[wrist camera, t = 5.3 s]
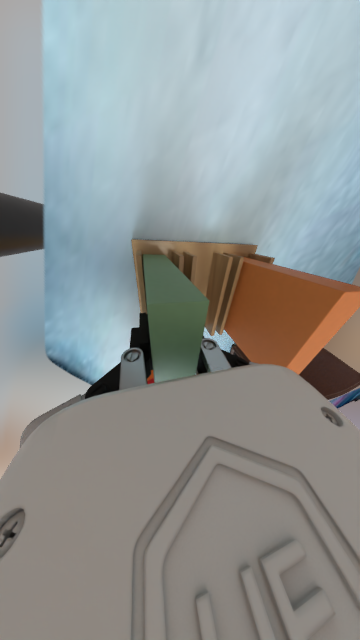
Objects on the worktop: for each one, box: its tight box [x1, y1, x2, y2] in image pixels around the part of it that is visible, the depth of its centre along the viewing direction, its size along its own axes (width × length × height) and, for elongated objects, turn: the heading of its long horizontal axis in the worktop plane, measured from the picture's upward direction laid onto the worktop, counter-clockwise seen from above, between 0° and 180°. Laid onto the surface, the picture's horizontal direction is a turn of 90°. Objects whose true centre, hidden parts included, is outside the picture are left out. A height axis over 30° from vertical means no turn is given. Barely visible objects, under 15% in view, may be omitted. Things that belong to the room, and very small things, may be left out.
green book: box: [143, 254, 209, 383], centre depth 13 cm, size 3×10×13 cm, turn 177°
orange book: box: [224, 257, 360, 375], centre depth 16 cm, size 3×10×13 cm, turn 177°
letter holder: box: [230, 345, 360, 400], centre depth 30 cm, size 10×20×14 cm, turn 90°
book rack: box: [131, 239, 275, 336], centre depth 19 cm, size 17×13×5 cm
